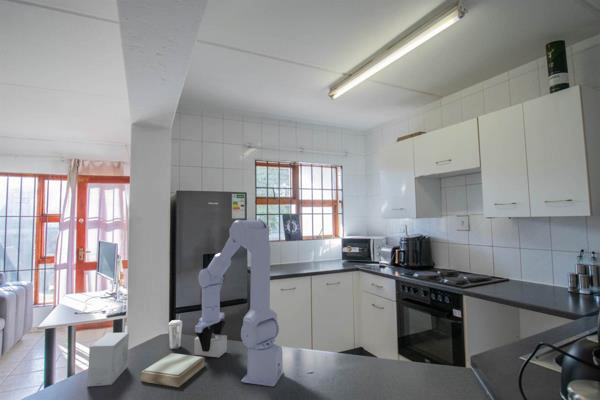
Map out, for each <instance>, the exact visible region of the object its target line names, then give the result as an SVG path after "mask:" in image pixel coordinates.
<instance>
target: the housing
mask: <svg viewBox="0 0 600 400" xmlns="http://www.w3.org/2000/svg"><path fill="white" fill-rule="evenodd" d="M227 339H228V335H225V334H221V335H216V334H214V333H212V336H211V341H210V349H209V351H208V352H205V351H202V347H201V343H200V340H199V338H198V336H196V337H195V338H194V340H193V341H194V343H193V346H194V347H193V348H194V349H193V350H194V351H193V352H194V354H193V356H201V357H211V358H220V357H221V356H223V355H224V354H225V353H226V352H227V351H228V350H227V349H228V348H227V347H228V340H227Z"/></svg>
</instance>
